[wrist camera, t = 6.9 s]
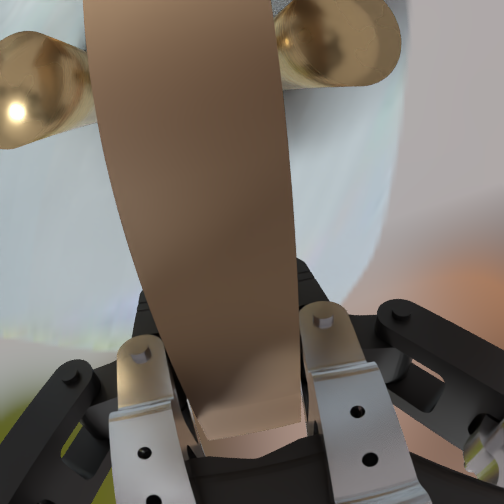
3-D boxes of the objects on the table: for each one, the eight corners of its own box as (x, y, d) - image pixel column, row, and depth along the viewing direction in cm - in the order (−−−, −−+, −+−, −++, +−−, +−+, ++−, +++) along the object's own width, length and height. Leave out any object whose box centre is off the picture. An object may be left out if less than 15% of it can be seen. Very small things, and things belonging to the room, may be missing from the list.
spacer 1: (66, 132, 15) (-20, 164, 7) (56, 70, 13) (-34, 61, 5) (127, 114, 16) (71, 127, 8) (118, 50, 14) (58, 12, 6)
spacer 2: (248, 93, 16) (300, 86, 8) (241, 29, 14) (285, -27, 7) (314, 88, 17) (405, 88, 9) (307, 28, 15) (393, -12, 7)
